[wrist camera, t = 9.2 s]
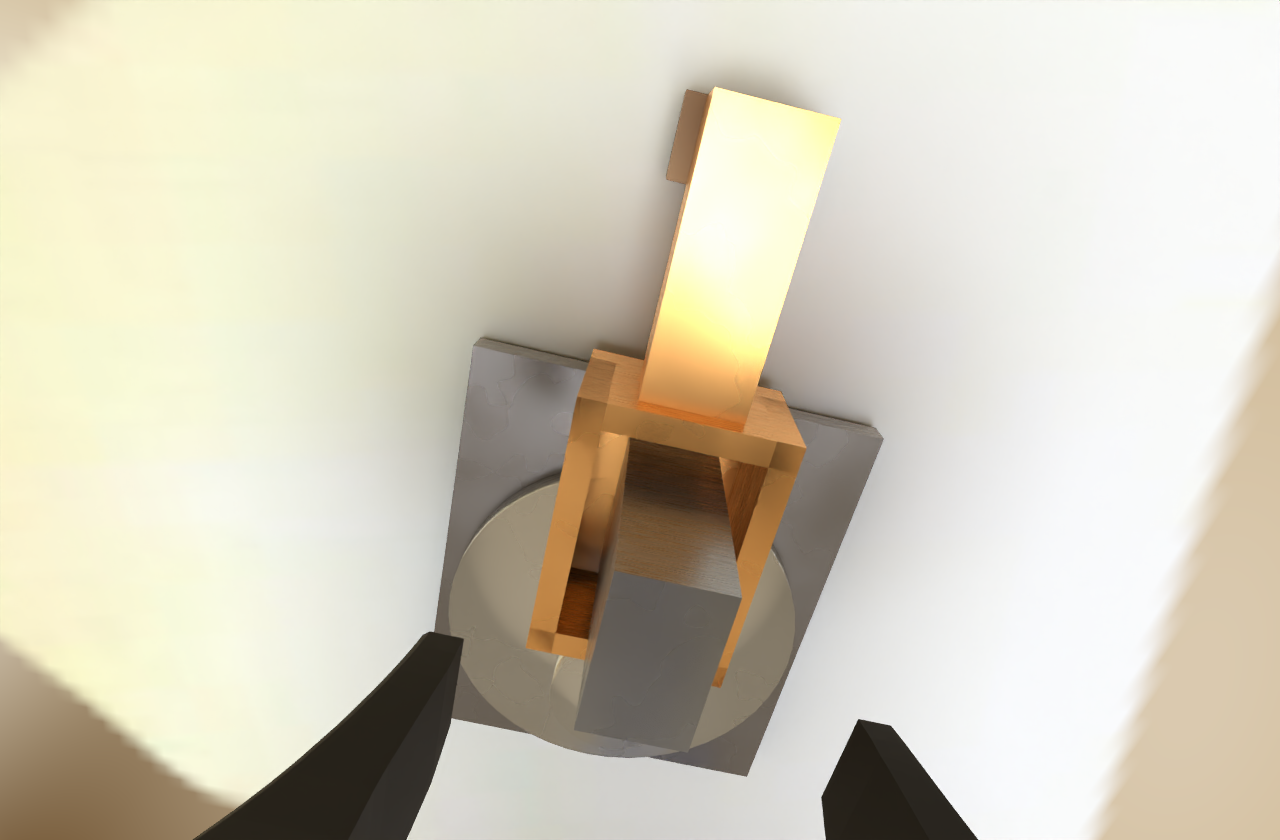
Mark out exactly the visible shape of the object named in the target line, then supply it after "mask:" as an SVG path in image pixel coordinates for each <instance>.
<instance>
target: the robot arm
mask: <svg viewBox="0 0 1280 840" xmlns="http://www.w3.org/2000/svg"><path fill="white" fill-rule="evenodd" d="M463 642H464V638H459V637H454V636H449V635H444V634H439V633H435V632H428V633H426V634H424V635H422V637H421V638H420V639H419V640H418V642H417V643H416V644H415V645H414V647H413V648H412V649H411V650H410V651H409V652H408V654H407V655H406V656H405V657H404V658H403V659H402V660H401V661H400V663H399V664H398V665H397V666H396V667H395V668H394V669H393V670H392V671H391V672H390V673H389V674H388V675H387V677H386V678H385V679H384V680H383V681H382V682H381V683H380V684H379V685H378V686H377V687H376V688H375V689H374V690H373V691H372V692H371V693H370V694H369V695H368V696H367V697H366V698H365V699H364V700H363V701H362V702H361V703H360V704H359V705H358V706H357V707H356V708H355V709H354V710H353V711H352V712H351V713H350V714H348V715H347V716H346V717H345V718H344V719H343V720H342V721H341V722H340V723H339V724H338V725H337V726H336V727H335V728H333V729H332V730H331V731H330V732H329V733H328V734H327V735H326V736H324V737H323V738H322V739H321V740H320V741H319V742H318V743H317V744H315V745H314V746H313V747H312V748H311V749H310V750H309V751H307V752H306V753H305V754H304V755H303V756H302V757H301V758H300V759H298V760H297V761H296V762H295V763H294V764H292V765H291V766H290V767H289V768H288V769H286V770H285V771H284V772H283V773H281V774H280V775H279V776H278V777H277V778H275V779H274V780H273V781H272V782H270V783H269V784H268V785H267V786H265V787H264V788H263V789H261V790H260V791H259V792H257V793H256V794H255V795H254V796H252V797H251V798H250V799H248V800H247V801H246V802H244V803H243V804H242V805H241V806H239V807H238V808H236V809H235V810H234V811H232V812H231V813H230V814H228V815H227V816H225V817H224V818H223V819H221V820H220V821H218V822H217V823H216V824H214V825H213V826H211V827H210V828H208V829H207V830H206V831H204V832H203V833H201V834H200V835H199V836H197V837H196V838H194V839H193V840H406V839H407V837H408V835H409V833H410V830H411V828H412V826H413V823H414V821H415V819H416V817H417V814H418V812H419V810H420V807H421V805H422V803H423V801H424V798H425V796H426V794H427V791H428V789H429V787H430V785H431V782H432V779H433V776H434V773H435V770H436V767H437V764H438V761H439V758H440V755H441V752H442V749H443V746H444V743H445V739H446V736H447V733H448V730H449V727H450V724H451V718H452V711H453V705H454V699H455V693H456V686H457V680H458V674H459V667H460V661H461V655H462V649H463ZM821 798H822V807H823V817H824V827H825V836H826V840H978V839H977V837H976V836H975V835H974V834H973V832H972V831H971V830H970V829H969V827H968V826H967V825H966V823H965V822H964V821H963V820H962V818H961V817H960V816H959V814H958V813H957V812H956V810H955V809H954V808H953V807H952V805H951V804H950V803H949V801H948V800H947V799H946V797H945V796H944V795H943V793H942V792H941V791H940V789H939V788H938V787H937V785H936V784H935V783H934V781H933V780H932V779H931V777H930V776H929V775H928V773H927V772H926V771H925V769H924V768H923V767H922V765H921V764H920V763H919V762H918V760H917V759H916V758H915V756H914V755H913V754H912V752H911V751H910V750H909V748H908V747H907V746H906V744H905V743H904V742H903V740H902V739H901V738H900V737H899V735H898V734H897V733H896V732H895V730H894V729H893V728H892V727H891V726H890V725H885V724H880V723H875V722H870V721H865V720H860V719H858V721H857V723H856V725H855V727H854V730H853V732H852V734H851V736H850V738H849V740H848V742H847V744H846V747H845V749H844V751H843V753H842V755H841V757H840V759H839V761H838V763H837V766H836V768H835V770H834V772H833V774H832V776H831V778H830V780H829V782H828V785H827V787H826V789H825V791H824V793H823V795H822V797H821Z"/></svg>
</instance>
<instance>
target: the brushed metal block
mask: <svg viewBox="0 0 1280 840" xmlns="http://www.w3.org/2000/svg"><path fill="white" fill-rule="evenodd" d="M741 600H742V593H741V587H740V581H739V575H738V569H737V563H736V557H735V551H734V545H733V539H732V533H731V527H730V521H729V515H728V509H727V503H726V497H725V491H724V485H723V479H722V473H721V467H720V461H719V457H717V456H712V455H708V454H703V453H699V452H694V451H690V450H685V449H681V448H676V447H672V446H667V445H663V444H658V443H654V442H649V441H645V440H640V439H636V438H631V437H629V438H628V442H627V446H626V450H625V455H624V459H623V463H622V467H621V471H620V475H619V479H618V483H617V487H616V492H615V496H614V500H613V504H612V508H611V512H610V516H609V520H608V525H607V529H606V533H605V537H604V541H603V547H602V553H601V560H600V566H599V572H598V579H597V585H596V591H595V598H594V604H593V611H592V617H591V623H590V630H589V636H588V642H587V649H586V655H585V661H584V668H583V674H582V681H581V687H580V693H579V700H578V706H577V712H576V719H575V725H574V730H575V731H580V732H585V733H590V734H595V735H600V736H605V737H610V738H615V739H621V740H626V741H631V742H636V743H641V744H646V745H651V746H656V747H661V748H666V749H671V750H676V751H681V752H686V753H688V751H689V748H690V746H691V743H692V740H693V737H694V734H695V731H696V728H697V726H698V723H699V720H700V717H701V714H702V711H703V708H704V706H705V703H706V700H707V697H708V694H709V691H710V688H711V686H712V683H713V680H714V677H715V674H716V671H717V669H718V666H719V663H720V660H721V657H722V654H723V651H724V649H725V646H726V643H727V640H728V637H729V634H730V631H731V629H732V626H733V623H734V620H735V617H736V614H737V612H738V609H739V606H740V603H741Z"/></svg>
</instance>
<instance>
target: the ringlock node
mask: <svg viewBox="0 0 1280 840" xmlns="http://www.w3.org/2000/svg"><path fill="white" fill-rule="evenodd" d="M840 121H841V119H840V118H836V117H832V116H828V115H824V114H820V113H816V112H812V111H808V110H804V109H800V108H796V107H792V106H788V105H784V104H780V103H776V102H772V101H768V100H764V99H760V98H756V97H752V96H749V95H745V94H741V93H737V92H733V91H729V90H725V89H721V88H717V87H714V88H713V90H712V91H711V92H710V93H709V94H708V95H707V94H703V93H699V92H695V91H692V90H688V89H687V90H686V92H685V96H684V100H683V105H682V109H681V113H680V118H679V122H678V126H677V131H676V135H675V140H674V144H673V148H672V153H671V157H670V161H669V166H668V170H667V175H666V179H667V180H671V181H675V182H679V183H683V184H686V188H685V192H684V196H683V200H682V204H681V208H680V212H679V217H678V221H677V225H676V229H675V233H674V237H673V242H672V246H671V250H670V254H669V258H668V262H667V266H666V271H665V275H664V279H663V283H662V287H661V291H660V296H659V300H658V304H657V308H656V312H655V316H654V320H653V325H652V329H651V333H650V337H649V341H648V345H647V349H646V354H645V358H644V360H642V359H637V358H633V357H629V356H624V355H620V354H615V353H611V352H607V351H602V350H598V349H593V352H592V355H591V358H590V361H589V362H584V361H580V360H576V359H571V358H567V357H563V356H558V355H554V354H549V353H545V352H541V351H536V350H532V349H528V348H523V347H519V346H514V345H510V344H506V343H501V342H497V341H492V340H488V339H484V338H480V339H479V340H478V341H477V342H476V343H475V344H474V345H473V352H472V359H471V367H470V374H469V381H468V389H467V396H466V403H465V411H464V418H463V425H462V433H461V440H460V447H459V455H458V462H457V469H456V477H455V484H454V491H453V499H452V506H451V513H450V521H449V528H448V535H447V543H446V550H445V557H444V565H443V572H442V579H441V587H440V594H439V601H438V609H437V616H436V623H435V631H434V632H435V633H439V634H444V635H449V636H454V637H459V638H464V642H463V649H462V655H461V661H460V667H459V674H458V680H457V686H456V693H455V699H454V705H453V711H452V718H453V719H458V720H463V721H468V722H473V723H479V724H484V725H489V726H494V727H499V728H504V729H509V730H514V731H519V732H524V733H529V734H533V735H535V736H537V737H539V738H541V739H543V740H545V741H547V742H550V743H553V744H555V745H558V746H561V747H564V748H567V749H570V750H575V751H579V752H583V753H587V754H593V755H600V756H606V757H623V758H634V757H650V758H656V759H661V760H666V761H671V762H676V763H681V764H686V765H691V766H696V767H701V768H706V769H711V770H716V771H721V772H726V773H731V774H736V775H742V776H747V775H748V772H749V770H750V767H751V765H752V762H753V760H754V758H755V755H756V753H757V750H758V748H759V745H760V743H761V740H762V738H763V735H764V733H765V730H766V728H767V725H768V723H769V721H770V718H771V716H772V713H773V711H774V708H775V706H776V703H777V701H778V698H779V696H780V693H781V691H782V688H783V686H784V684H785V681H786V679H787V676H788V674H789V671H790V669H791V666H792V664H793V661H794V659H795V656H796V654H797V651H798V649H799V646H800V644H801V642H802V639H803V637H804V634H805V632H806V629H807V627H808V624H809V622H810V619H811V617H812V614H813V612H814V609H815V607H816V605H817V602H818V600H819V597H820V595H821V592H822V590H823V587H824V585H825V582H826V580H827V577H828V575H829V572H830V570H831V568H832V565H833V563H834V560H835V558H836V555H837V553H838V550H839V548H840V545H841V543H842V540H843V538H844V535H845V533H846V531H847V528H848V526H849V523H850V521H851V518H852V516H853V513H854V511H855V508H856V506H857V503H858V501H859V498H860V496H861V494H862V491H863V489H864V486H865V484H866V481H867V479H868V476H869V474H870V471H871V469H872V466H873V464H874V461H875V459H876V456H877V454H878V452H879V449H880V447H881V444H882V442H883V437H882V436H881V435H880V433H879V432H878V430H877V429H876V428H874V427H869V426H865V425H861V424H856V423H852V422H847V421H843V420H839V419H834V418H830V417H826V416H821V415H817V414H812V413H808V412H804V411H799V410H795V409H790V408H788V406H787V404H786V402H785V399H784V397H783V395H782V393H781V391H777V390H772V389H768V388H764V387H759V386H757V385H758V382H759V379H760V376H761V373H762V370H763V366H764V363H765V360H766V357H767V354H768V351H769V347H770V344H771V341H772V338H773V335H774V331H775V328H776V325H777V322H778V319H779V316H780V312H781V309H782V306H783V303H784V300H785V296H786V293H787V290H788V287H789V284H790V281H791V277H792V274H793V271H794V268H795V265H796V261H797V258H798V255H799V252H800V249H801V246H802V242H803V239H804V236H805V233H806V230H807V226H808V223H809V220H810V217H811V214H812V211H813V207H814V204H815V201H816V198H817V195H818V191H819V188H820V185H821V182H822V179H823V176H824V172H825V169H826V166H827V163H828V160H829V156H830V153H831V150H832V147H833V144H834V141H835V137H836V134H837V131H838V128H839V125H840ZM629 437H631V438H636V439H640V440H645V441H649V442H654V443H658V444H663V445H667V446H672V447H676V448H681V449H685V450H690V451H694V452H699V453H703V454H708V455H712V456H717V457H719V461H720V467H721V473H722V479H723V485H724V491H725V497H726V503H727V509H728V515H729V521H730V527H731V533H732V539H733V545H734V551H735V557H736V563H737V569H738V575H739V581H740V587H741V593H742V600H741V603H740V606H739V609H738V612H737V614H736V617H735V620H734V623H733V626H732V629H731V631H730V634H729V637H728V640H727V643H726V646H725V649H724V651H723V654H722V657H721V660H720V663H719V666H718V669H717V671H716V674H715V677H714V680H713V683H712V686H711V688H710V691H709V694H708V697H707V700H706V703H705V706H704V708H703V711H702V714H701V717H700V720H699V723H698V726H697V728H696V731H695V734H694V737H693V740H692V743H691V746H690V748H689V751H688V753H686V752H681V751H676V750H671V749H666V748H661V747H656V746H651V745H646V744H641V743H636V742H631V741H626V740H621V739H615V738H610V737H605V736H600V735H595V734H590V733H585V732H580V731H575V730H574V725H575V719H576V712H577V706H578V700H579V693H580V687H581V681H582V674H583V668H584V661H585V655H586V649H587V642H588V636H589V630H590V623H591V617H592V611H593V604H594V598H595V591H596V585H597V579H598V572H599V566H600V560H601V553H602V547H603V541H604V537H605V533H606V529H607V525H608V520H609V516H610V512H611V508H612V504H613V500H614V496H615V492H616V487H617V483H618V479H619V475H620V471H621V467H622V463H623V459H624V455H625V450H626V446H627V442H628V438H629Z"/></svg>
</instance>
